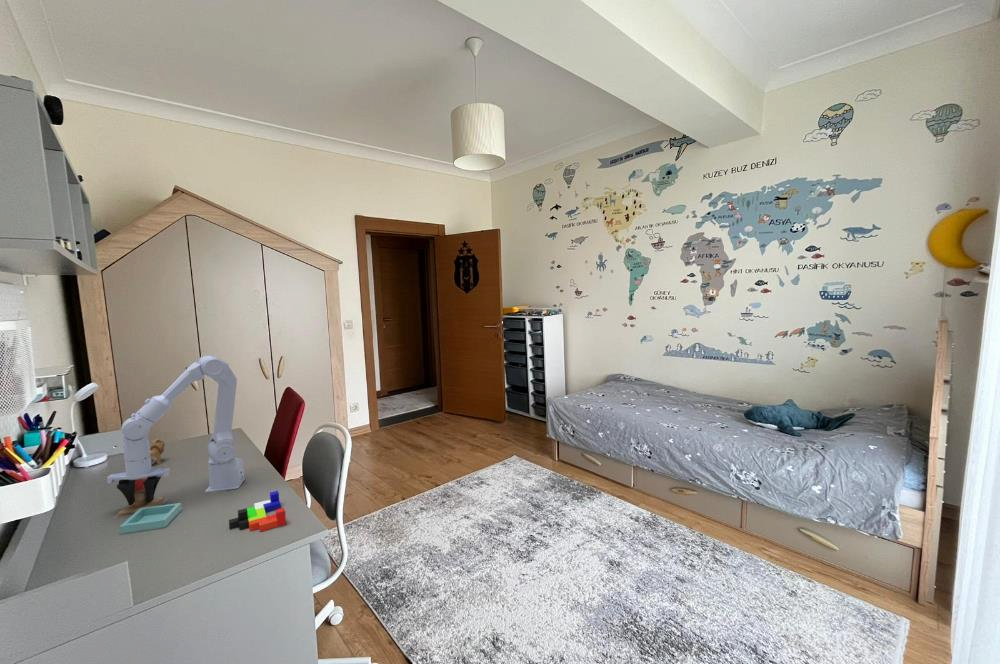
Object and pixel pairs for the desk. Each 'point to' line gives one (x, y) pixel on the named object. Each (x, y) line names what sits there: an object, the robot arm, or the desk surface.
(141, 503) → the lid
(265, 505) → the building blocks
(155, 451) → the lion figurine
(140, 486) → the pomegranate
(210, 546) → the desk surface
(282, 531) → the desk surface
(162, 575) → the desk surface
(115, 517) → the mat
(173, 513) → the dish
